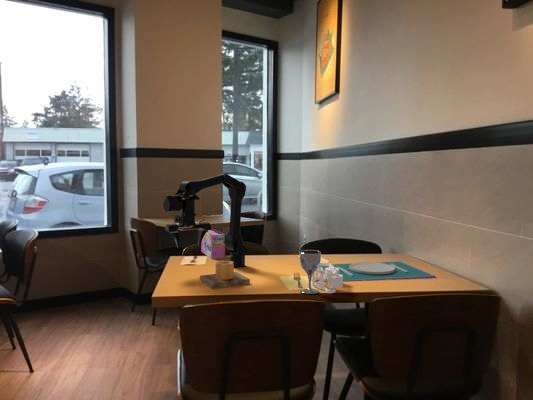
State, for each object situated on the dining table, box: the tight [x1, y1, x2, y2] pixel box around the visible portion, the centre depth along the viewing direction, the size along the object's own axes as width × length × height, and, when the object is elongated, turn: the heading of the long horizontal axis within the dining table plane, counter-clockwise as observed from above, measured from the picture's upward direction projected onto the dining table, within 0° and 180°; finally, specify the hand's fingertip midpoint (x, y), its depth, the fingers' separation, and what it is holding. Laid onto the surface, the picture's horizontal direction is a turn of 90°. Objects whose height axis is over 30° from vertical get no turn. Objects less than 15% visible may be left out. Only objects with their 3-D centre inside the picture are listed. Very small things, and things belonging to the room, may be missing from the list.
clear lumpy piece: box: [311, 262, 344, 294], centre depth 176 cm, size 20×11×7 cm, turn 178°
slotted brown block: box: [199, 260, 251, 290], centre depth 181 cm, size 16×14×8 cm
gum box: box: [200, 228, 226, 260], centre depth 235 cm, size 22×7×13 cm, turn 22°
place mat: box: [319, 260, 436, 282], centre depth 204 cm, size 45×30×2 cm
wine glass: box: [299, 249, 322, 295], centre depth 168 cm, size 8×8×15 cm
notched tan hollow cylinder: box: [215, 260, 235, 281], centre depth 181 cm, size 7×7×6 cm
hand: (188, 246), depth 193 cm, fingers open, 9 cm apart
